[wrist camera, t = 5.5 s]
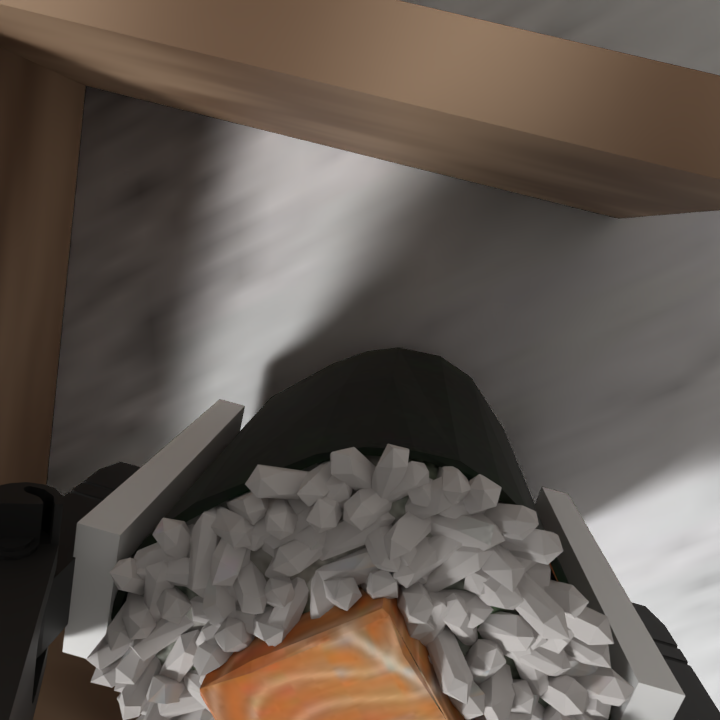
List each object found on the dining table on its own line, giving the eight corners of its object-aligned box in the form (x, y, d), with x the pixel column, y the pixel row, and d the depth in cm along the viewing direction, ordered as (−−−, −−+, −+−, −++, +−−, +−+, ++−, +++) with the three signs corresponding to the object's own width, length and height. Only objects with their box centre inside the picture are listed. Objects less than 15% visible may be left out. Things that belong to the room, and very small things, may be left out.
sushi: (570, 540, 15) (733, 864, 7) (323, 636, 17) (246, 979, 9) (446, 295, 14) (485, 378, 6) (192, 425, 15) (-29, 620, 8)
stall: (1, 630, 19) (-225, 843, 13) (49, 28, 14) (-289, -162, 7) (423, 757, 19) (425, 1056, 12) (634, 171, 13) (856, 108, 7)
